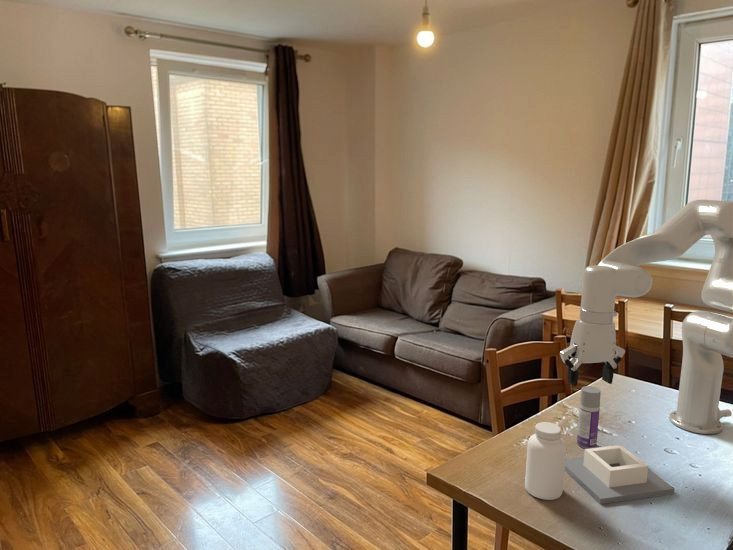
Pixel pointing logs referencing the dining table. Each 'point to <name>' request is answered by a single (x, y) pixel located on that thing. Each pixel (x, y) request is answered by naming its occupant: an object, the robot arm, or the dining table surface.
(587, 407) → the container
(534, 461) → the pill bottle
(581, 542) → the dining table surface
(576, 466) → the square socket holder
